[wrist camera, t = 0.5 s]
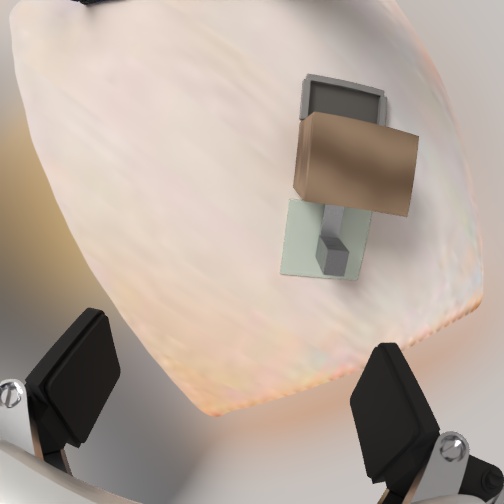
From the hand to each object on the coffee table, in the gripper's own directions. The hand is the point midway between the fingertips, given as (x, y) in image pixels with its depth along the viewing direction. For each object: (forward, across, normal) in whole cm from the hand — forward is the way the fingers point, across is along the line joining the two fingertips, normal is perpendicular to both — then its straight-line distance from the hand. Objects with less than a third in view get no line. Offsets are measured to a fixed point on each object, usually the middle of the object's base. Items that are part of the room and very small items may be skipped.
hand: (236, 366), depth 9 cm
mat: (+27, -9, +4) cm, 29 cm away
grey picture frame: (+27, -9, -14) cm, 32 cm away
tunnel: (+27, -9, -7) cm, 29 cm away
